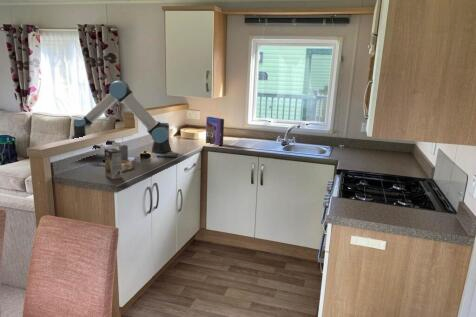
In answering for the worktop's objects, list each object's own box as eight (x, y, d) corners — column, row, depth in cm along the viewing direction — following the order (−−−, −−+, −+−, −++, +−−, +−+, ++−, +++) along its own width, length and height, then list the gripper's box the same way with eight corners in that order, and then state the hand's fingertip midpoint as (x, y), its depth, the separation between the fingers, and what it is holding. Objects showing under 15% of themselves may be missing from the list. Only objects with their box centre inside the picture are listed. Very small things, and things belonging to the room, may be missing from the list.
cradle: (120, 165, 228) (120, 159, 227) (132, 167, 224) (132, 161, 223) (107, 169, 218) (107, 163, 217) (120, 171, 214) (120, 165, 213)
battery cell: (123, 161, 238) (123, 143, 235) (129, 162, 236) (129, 144, 232) (117, 163, 233) (117, 144, 230) (124, 164, 231) (123, 145, 228)
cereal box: (205, 143, 314) (206, 116, 308) (209, 142, 317) (210, 116, 311) (219, 146, 302) (220, 119, 297) (223, 145, 306) (224, 118, 300)
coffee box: (105, 175, 205) (103, 149, 201) (115, 173, 210) (114, 147, 206) (111, 179, 199) (110, 152, 195) (122, 177, 204) (121, 150, 200)
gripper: (103, 144, 256) (125, 148, 248) (75, 150, 235) (97, 154, 226) (103, 134, 255) (125, 138, 246) (74, 139, 233) (97, 143, 224)
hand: (112, 146), depth 236 cm, fingers open, 13 cm apart
